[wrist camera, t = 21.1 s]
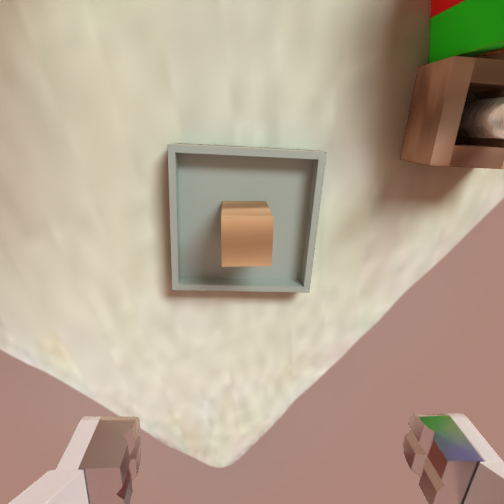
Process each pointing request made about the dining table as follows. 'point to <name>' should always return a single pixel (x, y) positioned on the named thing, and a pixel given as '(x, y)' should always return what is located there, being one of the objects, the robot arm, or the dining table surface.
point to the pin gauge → (482, 119)
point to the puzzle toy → (466, 28)
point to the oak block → (246, 233)
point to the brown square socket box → (452, 113)
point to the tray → (242, 189)
